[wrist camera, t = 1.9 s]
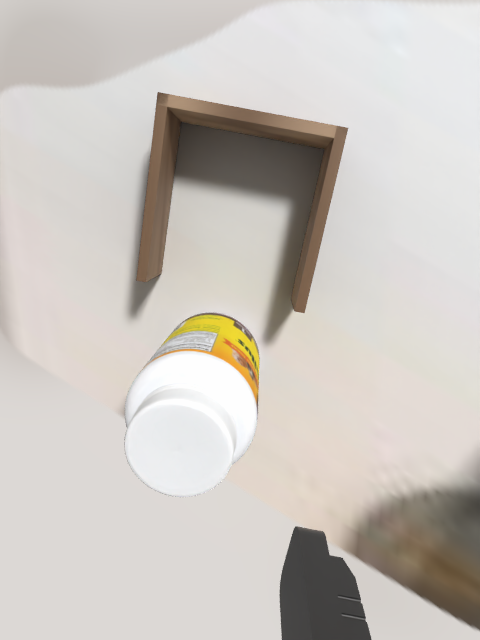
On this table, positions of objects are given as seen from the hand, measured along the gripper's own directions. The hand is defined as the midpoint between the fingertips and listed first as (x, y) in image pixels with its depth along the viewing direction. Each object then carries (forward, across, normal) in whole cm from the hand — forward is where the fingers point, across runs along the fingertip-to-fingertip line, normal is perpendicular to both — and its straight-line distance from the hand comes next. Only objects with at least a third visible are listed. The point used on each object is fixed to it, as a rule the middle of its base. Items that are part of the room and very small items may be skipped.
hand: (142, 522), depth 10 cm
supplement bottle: (+14, 0, 0) cm, 14 cm away
